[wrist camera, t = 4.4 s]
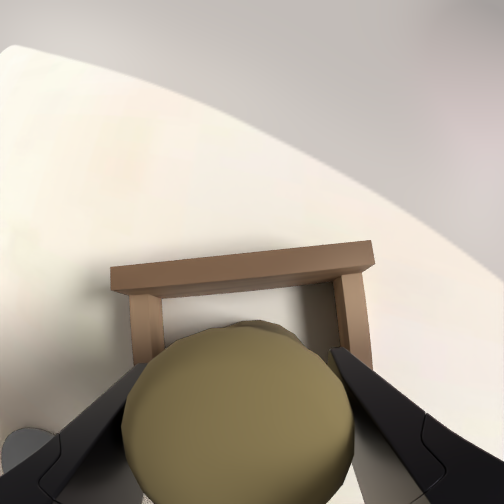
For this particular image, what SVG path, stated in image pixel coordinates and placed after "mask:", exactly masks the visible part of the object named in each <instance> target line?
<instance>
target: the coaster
mask: <svg viewBox="0 0 504 504" xmlns="http://www.w3.org/2000/svg"><path fill="white" fill-rule="evenodd" d="M54 436H55V435H54V434H51V433H49V432H47V431H44V430H41V429H37V428H24V429H20V430H17V431H14V432H12V433H11V434H10V435H9V436H8V437H7V438H6V440H5V442H4V444H3V448H2V467H3V472H4V474H5V473H6V472H8V471H9V470H10V469H12V468H13V467H15V466H16V465H18V464H19V463H21V462H22V461H23V460H25V459H26V458H28V457H29V456H30V455H32V454H33V453H34V452H36V451H37V450H38V449H39V448H41V447H42V446H43V445H44V444H46V443H47V442H48V441H49V440H50V439H51V438H53V437H54Z"/></svg>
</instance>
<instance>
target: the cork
mask: <svg viewBox="0 0 504 504" xmlns="http://www.w3.org/2000/svg"><path fill="white" fill-rule="evenodd" d="M121 430H122V437H123V444H124V450H125V456H126V460H127V462H128V465H129V467H130V469H131V471H132V473H133V475H134V477H135V479H136V481H137V482H138V484H139V486H140V488H141V490H142V491H143V493H144V494H145V495H146V496H147V497H148V498H149V499H150V500H151V501H152V502H153V503H154V504H326V503H327V502H328V501H329V500H330V499H331V498H332V497H333V495H334V494H335V493H336V492H337V491H338V490H339V488H340V487H341V486H342V485H343V482H344V480H345V478H346V475H347V473H348V470H349V467H350V465H351V462H352V460H353V457H354V446H355V421H354V413H353V410H352V407H351V405H350V402H349V400H348V397H347V394H346V392H345V389H344V387H343V384H342V382H341V381H340V380H339V378H338V377H337V376H336V375H335V374H334V373H333V371H332V370H331V369H330V368H329V367H328V366H327V365H326V363H325V362H324V361H323V360H322V359H321V358H320V356H319V355H317V354H316V353H314V352H312V351H311V350H309V349H307V348H306V347H305V346H304V345H303V344H302V343H301V341H300V340H299V339H298V338H297V337H296V336H295V334H293V333H291V332H290V331H288V330H286V329H285V328H283V327H282V326H280V325H278V324H274V323H270V322H266V321H262V320H254V321H241V322H238V323H236V324H233V325H230V326H228V327H225V328H210V329H207V330H204V331H202V332H199V333H196V334H193V335H191V336H188V337H185V338H182V339H179V340H176V341H175V342H174V343H173V344H171V345H170V346H169V347H167V348H166V349H165V350H164V351H162V352H161V353H160V354H159V355H157V356H156V357H155V358H153V359H152V360H151V361H150V362H149V363H148V364H147V366H146V367H145V369H144V370H143V372H142V373H141V375H140V376H139V378H138V380H137V381H136V383H135V384H134V386H133V388H132V389H131V391H130V392H129V394H128V396H127V400H126V405H125V409H124V414H123V419H122V424H121Z"/></svg>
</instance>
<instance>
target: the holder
mask: <svg viewBox="0 0 504 504" xmlns="http://www.w3.org/2000/svg"><path fill="white" fill-rule="evenodd" d="M374 264H375V260H374V254H373V248H372V243H371V240H367V241H357V242H347V243H338V244H328V245H319V246H309V247H299V248H290V249H280V250H271V251H261V252H251V253H242V254H232V255H223V256H213V257H203V258H194V259H184V260H174V261H165V262H155V263H145V264H136V265H126V266H116V267H110V278H111V290H112V291H115V292H118V293H122V294H125V295H129V302H130V322H131V337H132V350H133V361H134V366H135V365H136V364H138V363H149V362H150V361H151V360H152V359H153V358H155V357H156V356H157V355H159V354H160V353H161V352H162V351H164V350H165V344H164V331H163V317H162V301H161V299H163V298H176V297H188V296H200V295H212V294H223V293H233V292H244V291H254V290H264V289H273V288H282V287H291V286H300V285H309V284H318V283H326V282H333V287H334V294H335V302H336V310H337V319H338V328H339V337H340V347H344V348H345V349H347V350H348V351H349V352H350V353H352V354H353V355H354V356H355V357H357V358H358V359H359V360H360V361H362V362H363V363H364V364H365V365H367V366H368V367H369V368H370V369H372V370H373V365H372V353H371V342H370V333H369V324H368V315H367V307H366V299H365V292H364V285H363V278H362V272H363V271H365V270H366V269H368V268H369V267H371V266H373V265H374Z"/></svg>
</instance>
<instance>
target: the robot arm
mask: <svg viewBox="0 0 504 504" xmlns="http://www.w3.org/2000/svg"><path fill="white" fill-rule="evenodd" d="M147 364H148V363H138V364H136V365H135V366H134V367H133V368H132V369H131V370H130V371H128V372H127V373H126V374H125V375H124V376H123V377H122V378H121V379H119V380H118V381H117V382H116V383H115V384H114V385H113V386H111V387H110V388H109V389H108V390H107V391H106V392H105V393H104V394H102V395H101V396H100V397H99V398H98V399H97V400H96V401H94V402H93V403H92V404H91V405H90V406H89V407H88V408H86V409H85V410H84V411H83V412H82V413H81V414H80V415H78V416H77V417H76V418H75V419H74V420H73V421H72V422H70V423H69V424H68V425H67V426H66V427H65V428H64V429H62V430H61V431H60V434H59V433H57V434H56V435H55V436H54V437H53V438H51V439H50V440H49V441H48V442H47V443H46V444H44V445H43V446H42V447H41V448H39V449H38V450H37V451H36V452H34V453H33V454H32V455H30V456H29V457H28V458H26V459H25V460H23V461H22V462H21V463H19V464H18V465H16V466H15V467H13V468H12V469H10V470H9V471H8V472H6V473H5V474H3V475H2V476H0V504H142V499H143V491H142V490H141V488H140V486H139V484H138V482H137V481H136V479H135V477H134V475H133V473H132V471H131V469H130V467H129V465H128V462H127V460H126V456H125V450H124V444H123V437H122V430H121V424H122V419H123V414H124V409H125V405H126V400H127V396H128V394H129V392H130V391H131V389H132V388H133V386H134V384H135V383H136V381H137V380H138V378H139V376H140V375H141V373H142V372H143V370H144V369H145V367H146V366H147ZM327 366H328V367H329V368H330V369H331V370H332V371H333V373H334V374H335V375H336V376H337V377H338V378H339V380H340V381H341V382H342V384H343V387H344V389H345V392H346V394H347V397H348V400H349V402H350V405H351V407H352V410H353V413H354V421H355V446H354V457H353V460H352V465H353V468H354V472H355V475H356V478H357V481H358V484H359V487H360V490H361V493H362V496H363V500H364V503H365V504H504V461H502V460H500V459H498V458H497V457H495V456H493V455H491V454H489V453H488V452H486V451H484V450H483V449H481V448H479V447H477V446H476V445H474V444H472V443H470V442H469V441H467V440H465V439H464V438H462V437H461V436H459V435H457V434H456V433H454V432H453V431H451V430H450V429H448V428H447V427H446V426H444V425H443V424H441V423H440V422H439V421H437V420H436V419H435V418H433V417H432V416H431V415H430V414H428V413H426V414H425V411H424V410H422V409H421V408H420V407H419V406H417V405H416V404H415V403H414V402H412V401H411V400H410V399H408V398H407V397H406V396H405V395H403V394H402V393H401V392H400V391H398V390H397V389H396V388H394V387H393V386H392V385H391V384H389V383H388V382H387V381H386V380H384V379H383V378H382V377H381V376H379V375H378V374H377V373H376V372H374V371H373V370H372V369H370V368H369V367H368V366H367V365H365V364H364V363H363V362H362V361H360V360H359V359H358V358H357V357H355V356H354V355H353V354H352V353H350V352H349V351H348V350H347V349H345V348H344V347H335V348H331V349H329V353H328V363H327Z"/></svg>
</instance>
